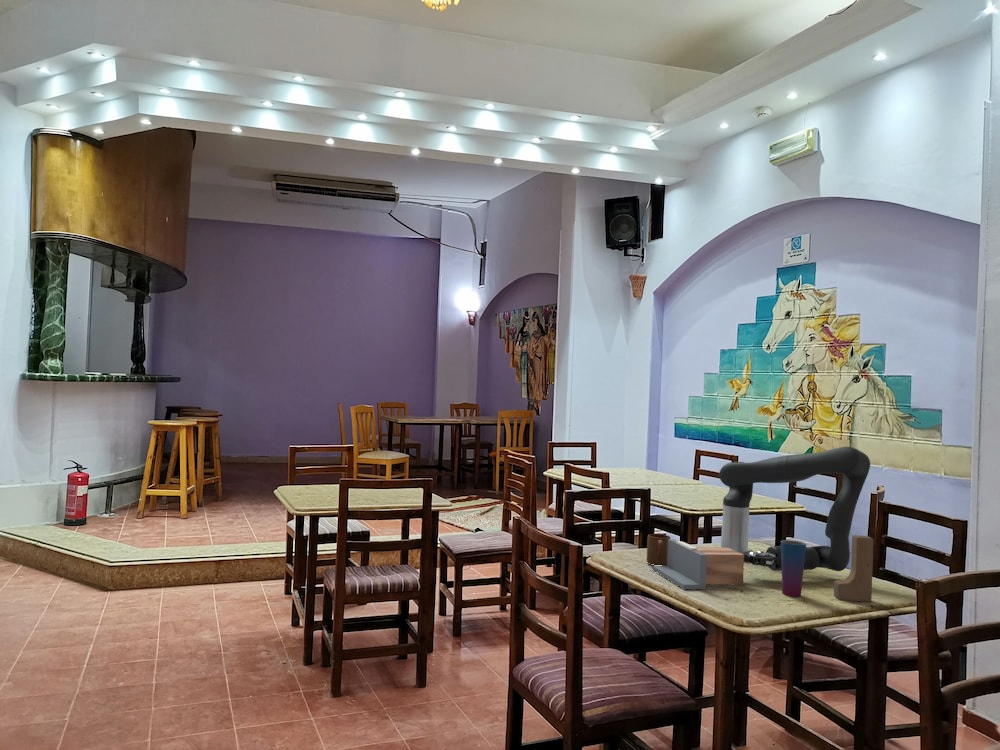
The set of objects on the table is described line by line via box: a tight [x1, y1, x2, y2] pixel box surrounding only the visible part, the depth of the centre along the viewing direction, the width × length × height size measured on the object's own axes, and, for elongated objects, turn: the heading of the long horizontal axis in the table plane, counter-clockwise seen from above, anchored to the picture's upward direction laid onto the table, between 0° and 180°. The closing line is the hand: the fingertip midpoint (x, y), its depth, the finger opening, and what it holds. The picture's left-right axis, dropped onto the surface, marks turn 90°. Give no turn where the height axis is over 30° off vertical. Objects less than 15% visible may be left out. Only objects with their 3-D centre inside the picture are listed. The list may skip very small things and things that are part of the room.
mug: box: [646, 533, 671, 566], centre depth 239 cm, size 12×8×9 cm, turn 173°
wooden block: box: [833, 534, 874, 603], centre depth 208 cm, size 9×4×18 cm, turn 82°
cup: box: [780, 539, 807, 598], centre depth 210 cm, size 7×7×15 cm
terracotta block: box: [694, 546, 745, 585], centre depth 222 cm, size 10×15×9 cm, turn 101°
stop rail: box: [651, 538, 707, 590], centre depth 221 cm, size 23×7×11 cm, turn 11°
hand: (734, 558), depth 224 cm, fingers closed
